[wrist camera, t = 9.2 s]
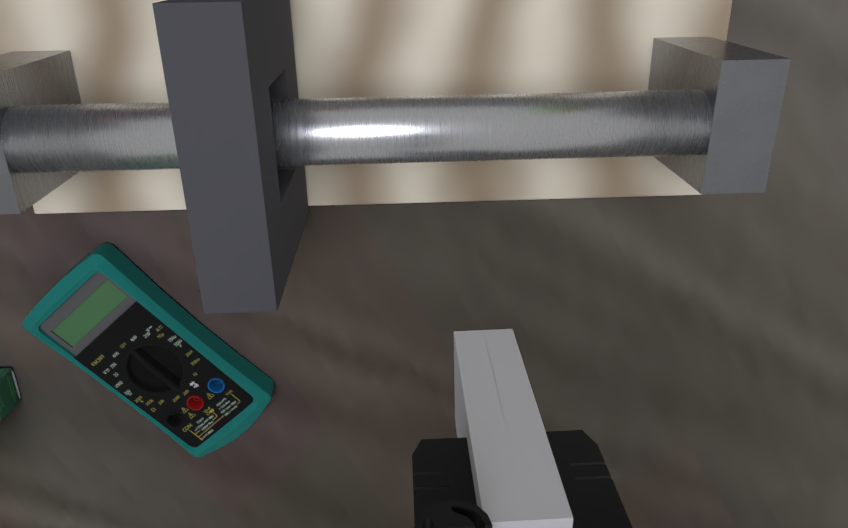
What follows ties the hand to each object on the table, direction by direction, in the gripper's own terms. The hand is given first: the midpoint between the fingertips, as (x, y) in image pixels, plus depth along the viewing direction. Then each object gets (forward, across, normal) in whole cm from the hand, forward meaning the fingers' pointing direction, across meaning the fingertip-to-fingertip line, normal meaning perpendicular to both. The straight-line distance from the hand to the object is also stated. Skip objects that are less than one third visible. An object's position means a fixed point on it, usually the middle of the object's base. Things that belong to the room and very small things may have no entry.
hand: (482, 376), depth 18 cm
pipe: (+24, +4, -3) cm, 25 cm away
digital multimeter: (+25, +18, +13) cm, 34 cm away
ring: (+22, +9, -3) cm, 24 cm away
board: (+24, +4, -3) cm, 25 cm away
